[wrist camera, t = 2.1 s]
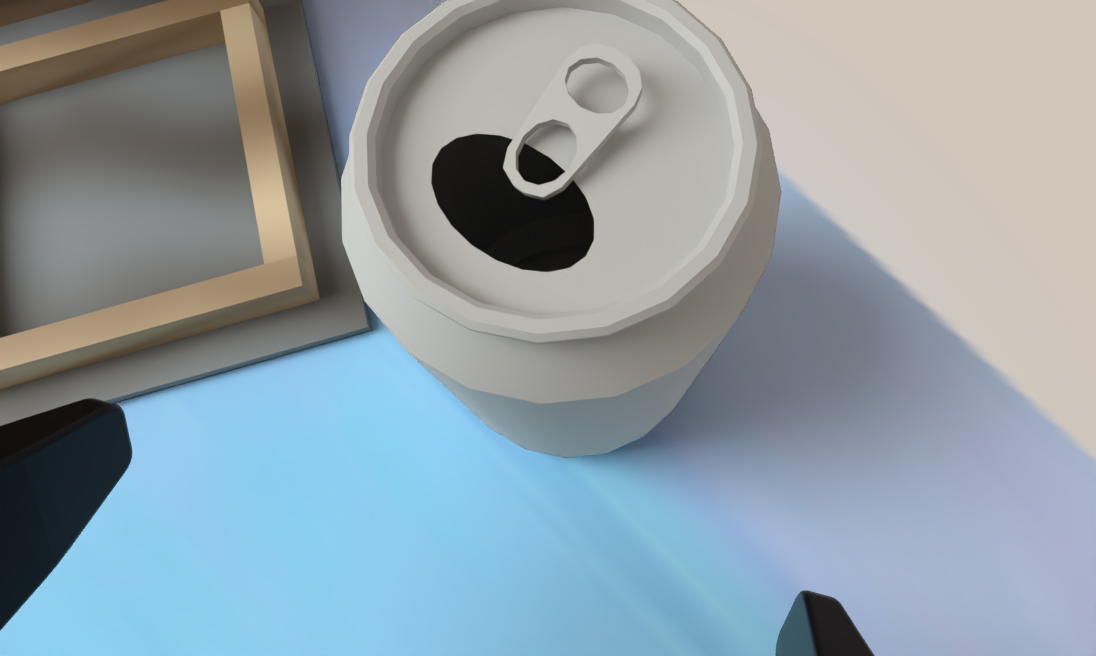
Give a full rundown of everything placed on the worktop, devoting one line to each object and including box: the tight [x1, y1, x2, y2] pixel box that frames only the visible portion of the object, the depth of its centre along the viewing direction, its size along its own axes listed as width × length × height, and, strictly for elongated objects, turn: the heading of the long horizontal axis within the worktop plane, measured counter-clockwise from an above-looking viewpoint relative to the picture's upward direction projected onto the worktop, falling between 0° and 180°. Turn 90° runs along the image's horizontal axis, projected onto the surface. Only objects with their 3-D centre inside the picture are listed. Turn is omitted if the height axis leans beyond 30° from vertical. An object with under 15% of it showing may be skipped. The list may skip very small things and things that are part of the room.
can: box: [341, 0, 781, 458], centre depth 16 cm, size 8×8×12 cm
